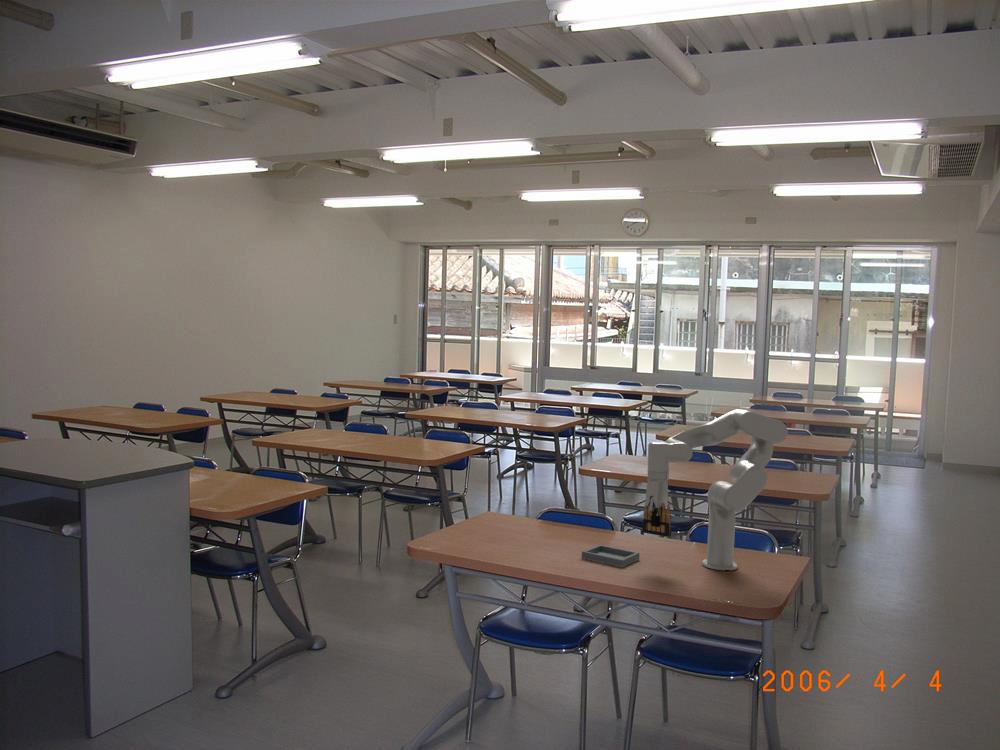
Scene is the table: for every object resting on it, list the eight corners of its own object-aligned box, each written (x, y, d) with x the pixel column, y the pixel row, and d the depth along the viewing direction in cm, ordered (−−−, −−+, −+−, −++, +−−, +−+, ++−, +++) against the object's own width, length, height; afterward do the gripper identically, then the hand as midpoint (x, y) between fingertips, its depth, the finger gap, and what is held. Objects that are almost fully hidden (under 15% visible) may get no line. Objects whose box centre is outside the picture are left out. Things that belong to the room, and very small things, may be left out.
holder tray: (599, 551, 307) (599, 544, 307) (639, 559, 297) (639, 552, 297) (581, 558, 295) (581, 551, 295) (622, 567, 285) (622, 560, 285)
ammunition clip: (642, 532, 289) (642, 500, 288) (644, 531, 290) (645, 499, 290) (669, 537, 283) (670, 504, 282) (671, 536, 284) (672, 503, 284)
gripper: (657, 471, 294) (656, 520, 295) (639, 477, 281) (638, 528, 282) (676, 473, 290) (675, 523, 291) (658, 479, 277) (657, 531, 278)
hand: (657, 525), depth 286 cm, fingers closed on ammunition clip, 2 cm apart
